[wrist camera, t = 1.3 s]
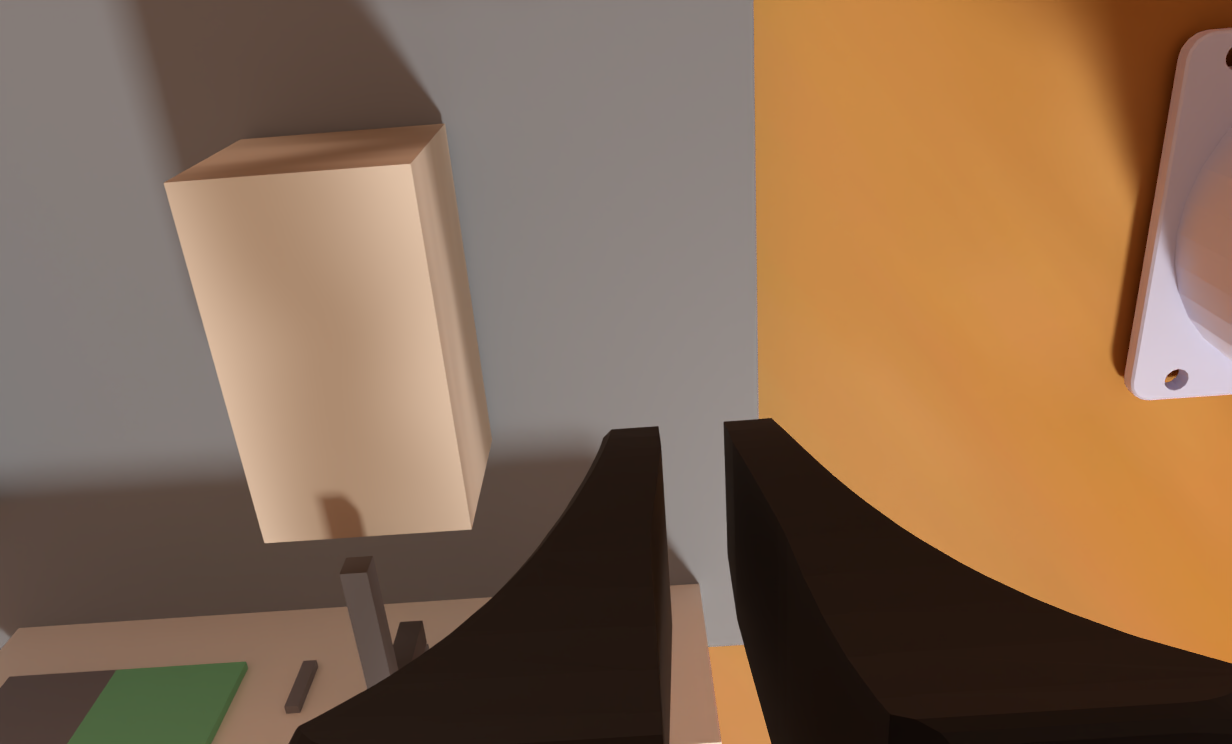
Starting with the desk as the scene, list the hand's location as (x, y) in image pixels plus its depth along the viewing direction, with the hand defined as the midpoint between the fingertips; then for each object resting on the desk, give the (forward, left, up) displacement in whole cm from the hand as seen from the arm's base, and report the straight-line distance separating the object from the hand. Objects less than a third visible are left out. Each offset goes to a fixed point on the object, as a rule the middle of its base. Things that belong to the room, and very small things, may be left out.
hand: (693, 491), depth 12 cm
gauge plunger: (+6, +2, -8) cm, 10 cm away
